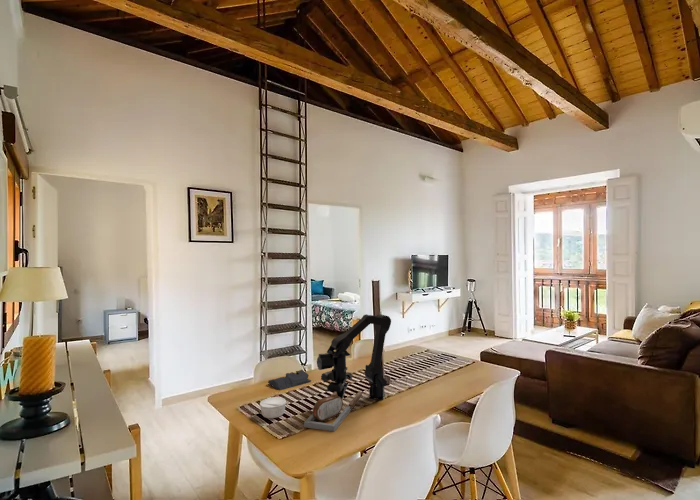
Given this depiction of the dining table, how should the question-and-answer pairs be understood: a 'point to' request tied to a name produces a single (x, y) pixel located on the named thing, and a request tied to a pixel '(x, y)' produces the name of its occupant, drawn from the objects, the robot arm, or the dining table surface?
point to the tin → (327, 407)
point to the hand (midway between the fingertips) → (340, 400)
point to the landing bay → (326, 426)
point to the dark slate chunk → (290, 380)
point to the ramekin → (273, 407)
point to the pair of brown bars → (353, 399)
